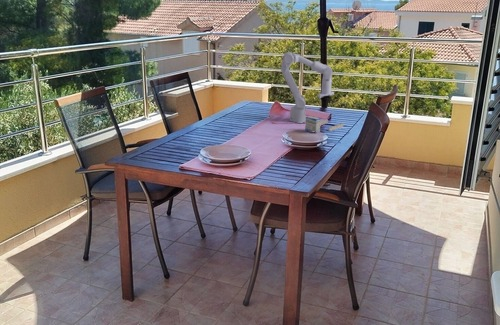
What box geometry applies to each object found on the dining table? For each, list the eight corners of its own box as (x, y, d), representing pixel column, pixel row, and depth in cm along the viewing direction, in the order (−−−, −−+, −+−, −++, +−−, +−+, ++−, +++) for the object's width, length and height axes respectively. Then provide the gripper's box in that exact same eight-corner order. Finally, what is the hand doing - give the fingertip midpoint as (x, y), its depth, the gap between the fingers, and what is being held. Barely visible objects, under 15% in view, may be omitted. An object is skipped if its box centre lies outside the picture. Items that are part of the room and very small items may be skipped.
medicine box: (304, 131, 293) (305, 116, 290) (309, 129, 296) (309, 115, 293) (315, 133, 288) (316, 119, 285) (320, 132, 291) (321, 117, 288)
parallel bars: (312, 126, 302) (312, 123, 301) (326, 122, 311) (326, 119, 310) (329, 131, 293) (330, 127, 293) (343, 126, 303) (343, 123, 302)
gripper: (324, 88, 297) (323, 110, 301) (338, 85, 307) (337, 106, 311) (315, 87, 301) (314, 108, 306) (329, 84, 311) (327, 105, 316)
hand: (325, 107), depth 309 cm, fingers closed
